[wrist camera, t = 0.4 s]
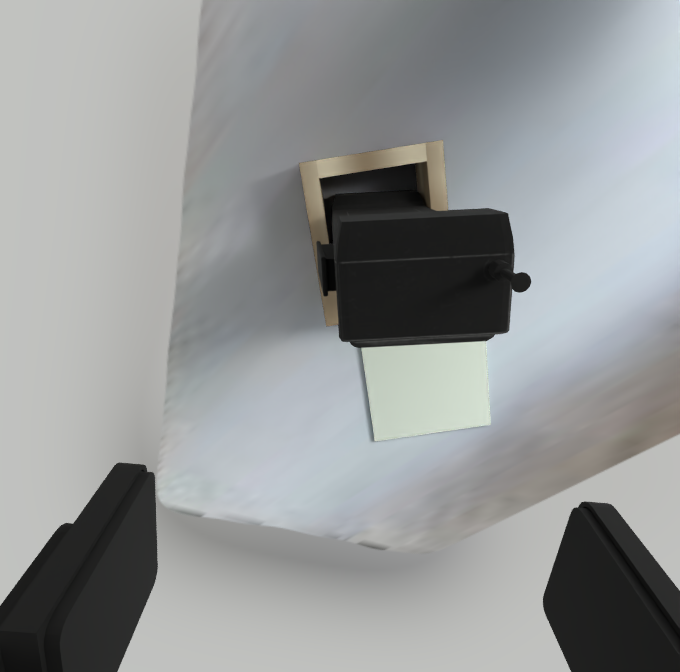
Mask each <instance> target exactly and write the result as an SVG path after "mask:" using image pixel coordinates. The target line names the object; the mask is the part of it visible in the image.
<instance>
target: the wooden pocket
mask: <svg viewBox="0 0 680 672" xmlns="http://www.w3.org/2000/svg"><path fill="white" fill-rule="evenodd" d="M412 163H415V170H416V180H417V191H418V192H419V195H420V197H421V199H422V201H423V204H424V206H426V207H428V208H430V209H433V210H436V211H446V210H448V202H447V189H446V175H445V162H444V149H443V140H440V141H434V142H427V143H421V144H415V145H409V146H402V147H396V148H390V149H384V150H377V151H371V152H365V153H359V154H352V155H346V156H340V157H333V158H327V159H321V160H315V161H308V162H302V163H299V167H300V173H301V178H302V184H303V190H304V196H305V202H306V208H307V214H308V220H309V226H310V232H311V238H312V244H313V250H314V256H315V262H316V268H317V274H318V262H317V246H316V242H317V241H320V242H321V244H330V239H329V233H328V227H327V220H326V214H325V207H324V201H323V194H322V188H321V182H320V178H324V177H330V176H337V175H343V174H349V173H356V172H362V171H368V170H375V169H381V168H387V167H393V166H400V165H406V164H412ZM318 280H319V286H320V292H321V298H322V304H323V309H324V315H325V321H326V326H332V325H338V310H337V294H336V291H328V296H323V292H322V287H321V283H320V279H319V274H318Z"/></svg>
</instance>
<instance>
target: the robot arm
mask: <svg viewBox="0 0 680 672" xmlns="http://www.w3.org/2000/svg"><path fill="white" fill-rule="evenodd" d="M157 565H158V563H157V533H156V502H155V476H154V473H152V472H147V468H146V466H145V465H140V464H129V463H117V464H116V465H115V466H114V467H113V469H112V470H111V471H110V473H109V474H108V476H107V477H106V478H105V480H104V481H103V483H102V484H101V485H100V487H99V489H98V490H97V491H96V492H95V494H94V495H93V497H92V498H91V500H90V501H89V503H88V504H87V505H86V507H85V508H84V509H83V511H82V512H81V514H80V515H79V517H78V518H77V520H76V521H75V522H74V524H70V523H65V524H63V525H61V526H60V527H59V528H58V529H57V530H56V531H55V533H54V534H53V535H52V537H51V538H50V539H49V541H48V542H47V543H46V545H45V546H44V548H43V549H42V550H41V552H40V553H39V554H38V556H37V557H36V558H35V560H34V561H33V562H32V564H31V565H30V566H29V568H28V569H27V571H26V572H25V573H24V574H23V576H22V577H21V579H20V580H19V581H18V583H17V584H16V585H15V587H14V588H13V589H12V591H11V592H10V594H9V595H8V596H7V597H6V599H5V600H4V602H3V603H2V604H1V606H0V672H117V671H118V669H119V666H120V664H121V662H122V659H123V657H124V654H125V652H126V649H127V647H128V645H129V643H130V640H131V638H132V636H133V633H134V631H135V628H136V626H137V624H138V621H139V618H140V616H141V614H142V612H143V609H144V607H145V605H146V602H147V600H148V598H149V595H150V593H151V590H152V588H153V586H154V583H155V579H156V575H157V567H158V566H157ZM543 607H544V611H545V614H546V616H547V619H548V621H549V623H550V626H551V628H552V630H553V632H554V634H555V636H556V639H557V641H558V643H559V646H560V648H561V650H562V652H563V654H564V657H565V659H566V661H567V663H568V665H569V668H570V670H571V672H680V591H679V589H678V588H677V587H676V586H675V584H674V583H673V582H672V581H671V579H670V578H669V577H668V575H667V574H666V573H665V572H664V570H663V569H662V568H661V567H660V565H659V564H658V563H657V561H656V560H655V559H654V557H653V556H652V555H651V554H650V552H649V551H648V550H647V549H646V547H645V546H644V545H643V543H642V542H641V541H640V540H639V538H638V537H637V536H636V535H635V533H634V532H633V531H632V529H631V528H630V527H629V526H628V524H627V523H626V522H625V520H624V519H623V518H622V517H621V515H620V514H619V513H618V511H617V510H616V509H615V508H614V507H613V506H612V505H611V504H607V503H595V502H582V503H581V504H580V505H579V507H578V508H574V509H573V510H572V512H571V514H570V517H569V520H568V524H567V526H566V529H565V532H564V535H563V538H562V541H561V544H560V547H559V550H558V553H557V556H556V560H555V562H554V565H553V568H552V572H551V575H550V578H549V581H548V584H547V587H546V590H545V593H544V596H543Z"/></svg>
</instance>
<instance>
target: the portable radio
mask: <svg viewBox="0 0 680 672" xmlns="http://www.w3.org/2000/svg"><path fill="white" fill-rule="evenodd" d="M332 231H333V244H321V242H320V241H317V242H316V246H317V262H318V274H319V279H320V283H321V287H322V292H323V296H328V291H336V294H337V310H338V326H339V338H340V339H341V341H343V342H350V343H351V345H353V346H354V347H358V348H368V347H387V346H405V345H424V344H443V343H462V342H481V341H487V340H489V339H491V338H492V337H494V335H495V334H502V333H507V332H508V331H509V325H510V311H511V297H512V289H513V290H514V291H515V292H524V291H526V290H527V289H528V288H529V287H530V284H531V279H530V276H529V275H528V274H527V273H523V272H521V273H518V274H515V273H513V270H514V256H515V255H514V244H513V236H512V231H511V226H510V222H509V217H508V213H506V212H502V211H498V210H493V209H489V208H485V209H465V210H446V211H436V210H433V209H430V208H428V207H426V206H424V204H423V201H422V199H421V197H420V195H419V192H418V191H413V190H403V191H384V192H365V193H345V194H335V200H334V202H333V205H332Z"/></svg>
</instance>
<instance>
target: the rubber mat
mask: <svg viewBox="0 0 680 672" xmlns="http://www.w3.org/2000/svg"><path fill="white" fill-rule="evenodd" d="M361 350H362V357H363V364H364V370H365V377H366V384H367V391H368V398H369V405H370V412H371V419H372V425H373V432H374V439H375V442H376V441H382V440H389V439H396V438H403V437H410V436H417V435H424V434H430V433H437V432H444V431H451V430H458V429H465V428H472V427H478V426H485V425H491V422H490V404H489V386H488V368H487V350H486V341H481V342H462V343H443V344H424V345H405V346H387V347H368V348H361Z"/></svg>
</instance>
